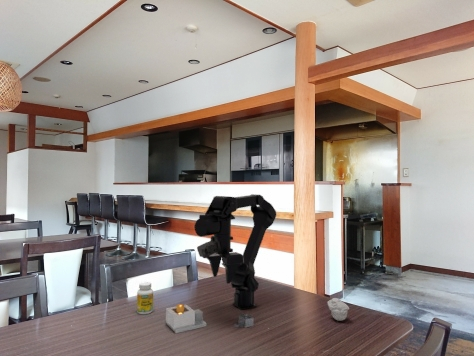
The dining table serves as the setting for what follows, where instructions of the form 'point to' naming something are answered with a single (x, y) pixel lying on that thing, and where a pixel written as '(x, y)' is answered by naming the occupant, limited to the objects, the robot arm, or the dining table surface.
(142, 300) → the supplement bottle
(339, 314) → the grey stone carving
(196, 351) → the dining table surface
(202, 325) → the peg stand
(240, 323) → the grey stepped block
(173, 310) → the grey square frame
